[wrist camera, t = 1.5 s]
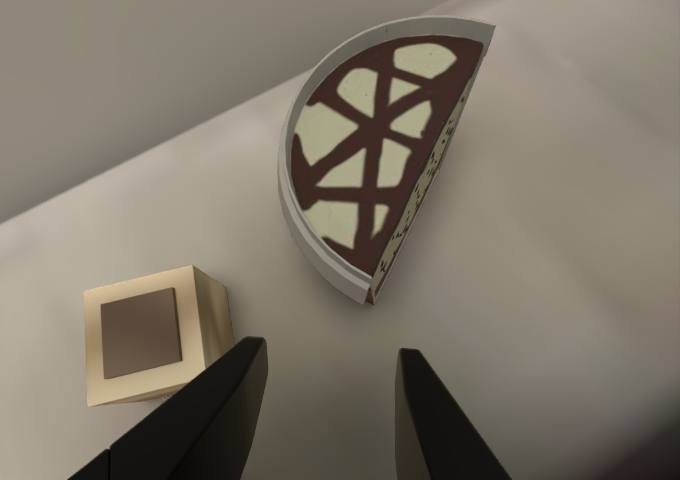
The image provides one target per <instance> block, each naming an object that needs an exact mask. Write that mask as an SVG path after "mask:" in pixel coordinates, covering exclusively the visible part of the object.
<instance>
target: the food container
mask: <svg viewBox="0 0 680 480" xmlns="http://www.w3.org/2000/svg"><path fill="white" fill-rule="evenodd" d="M495 27H496V24H493V23H489V22H485V21H482V20H478V19H473V18H466V17H458V16H440V15H428V16H419V17H409V18H404V19H400V20H396V21H391V22H387V23H384V24H381V25H378V26H376V27H373V28H371V29H368V30H365V31H363V32H361V33H360V34H358V35H356V36H354V37H352V38H350V39H348V40H346V41H345V42H343V43H342V44H341V45H339V46H338V47H337V48H335V49H334V50H332V51H331V52H330V53H329V54H327V55H326V56H325V57H324V58H323V59H322V60H321V61H320V62H319V63H318V64H317V65H316V66H315V67H314V68H313V70H312V71H311V72H310V74H309V75H308V76H307V78H306V79H305V80H304V82H303V83H302V85H301V87H300V88H299V90H298V92H297V94H296V96H295V98H294V100H293V102H292V104H291V106H290V108H289V110H288V112H287V115H286V119H285V122H284V125H283V128H282V131H281V137H280V144H279V151H278V192H279V197H280V202H281V206H282V211H283V215H284V218H285V220H286V222H287V225H288V227H289V230H290V232H291V235H292V237H293V238H294V240H295V242H296V243H297V245H298V246H299V248H300V250H301V251H302V253H303V254H304V256H305V258H306V259H307V260H308V261H309V262H310V263H311V264H312V265H313V267H314V268H315V269H316V270H317V271H318V272H319V273H320V275H321V276H322V277H324V278H325V279H326V280H327V281H328V282H330V283H331V284H332V285H333V286H335V287H336V288H337V289H338V290H339V291H341V292H342V293H343V294H345V295H347V296H348V297H350V298H352V299H354V300H355V301H357V302H359V303H360V304H362V305H364V303H365V301H367V302H369V303H371V304H372V305H375V303H376V301H377V299H378V297H379V295H380V292H381V290H382V288H383V286H384V284H385V282H386V280H387V278H388V276H389V274H390V272H391V270H392V268H393V265H394V263H395V261H396V259H397V257H398V255H399V253H400V251H401V249H402V247H403V245H404V243H405V240H406V238H407V236H408V234H409V232H410V230H411V228H412V226H413V224H414V222H415V220H416V218H417V216H418V213H419V211H420V209H421V207H422V205H423V203H424V201H425V199H426V197H427V195H428V193H429V191H430V189H431V186H432V184H433V182H434V180H435V178H436V176H437V174H438V172H439V170H440V167H441V165H442V162H443V160H444V157H445V155H446V152H447V150H448V147H449V144H450V142H451V139H452V137H453V134H454V132H455V129H456V127H457V124H458V121H459V119H460V116H461V114H462V111H463V109H464V106H465V104H466V101H467V99H468V96H469V93H470V91H471V88H472V86H473V83H474V81H475V78H476V76H477V73H478V70H479V68H480V65H481V63H482V60H483V58H484V57H485V55H486V53H487V50H488V47H489V44H490V42H491V39H492V36H493V32H494V29H495Z"/></svg>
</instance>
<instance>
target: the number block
mask: <svg viewBox="0 0 680 480" xmlns="http://www.w3.org/2000/svg"><path fill="white" fill-rule="evenodd" d="M84 311H85V342H86V372H87V403H88V407H92V406H101V405H111V404H120V403H130V402H140V401H148V400H152V399H156V398H160V397H164V396H168V395H172V394H175V393H176V392H177V391H179V390H180V389H181V388H182V387H184V386H185V385H186V384H187V383H189V382H190V381H191V380H192V379H194V378H195V377H196V376H197V375H199V374H200V373H201V372H202V371H204V370H205V369H206V368H207V367H208V366H210V365H211V364H212V363H213V362H215V361H216V360H217V359H218V358H220V357H221V356H222V355H223V354H225V353H226V352H227V351H228V350H230V349H231V348H232V347H233V346H235V344H234V337H233V331H232V324H231V317H230V310H229V304H228V297H227V290H226V287H225V286H223V285H222V284H220V283H219V282H217V281H216V280H214V279H213V278H211V277H210V276H208V275H207V274H205V273H204V272H202V271H201V270H199V269H198V268H196V267H195V266H193V265H190V266H186V267H182V268H177V269H173V270H169V271H165V272H161V273H157V274H152V275H148V276H144V277H140V278H136V279H132V280H127V281H123V282H119V283H115V284H111V285H107V286H102V287H98V288H94V289H90V290H86V291H84Z"/></svg>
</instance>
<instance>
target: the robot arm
mask: <svg viewBox="0 0 680 480" xmlns="http://www.w3.org/2000/svg"><path fill="white" fill-rule="evenodd" d="M267 375H268V358H267V345H266V340H265V339H264V338H263V337H253V336H247V337H245V338H243V339H242V340H241V341H240V342H238V343H237V344H236V345H235V346H233V347H232V348H231V349H230V350H228V351H227V352H226V353H225V354H223V355H222V356H221V357H220V358H218V359H217V360H216V361H215V362H213V363H212V364H211V365H210V366H208V367H207V368H206V369H205V370H204V371H202V372H201V373H200V374H199V375H197V376H196V377H195V378H194V379H192V380H191V381H190V382H189V383H187V384H186V385H185V386H184V387H182V388H181V389H180V390H179V391H177V392H176V393H175V394H174V395H172V396H171V397H170V398H169V399H168V400H166V401H165V402H164V403H163V404H161V405H160V406H159V407H158V408H156V409H155V410H154V411H153V412H151V413H150V414H149V415H148V416H146V417H145V418H144V419H143V420H141V421H140V422H139V423H138V424H136V425H135V426H134V427H133V428H131V429H130V430H129V431H128V432H127V433H125V434H124V435H123V436H122V437H120V438H119V439H118V440H117V441H115V442H114V443H113V444H112V445H111V446H110V450H109V449H105V450H104V451H103V452H101V453H100V454H99V455H98V456H96V457H95V458H94V459H93V460H91V461H90V462H89V463H88V464H87V465H85V466H84V467H83V468H81V469H80V470H79V471H77V472H76V473H75V474H74V475H72V476H71V477H70V478H68V479H67V480H240V478H241V475H242V473H243V470H244V467H245V464H246V461H247V458H248V455H249V452H250V449H251V446H252V441H253V437H254V433H255V429H256V425H257V420H258V416H259V411H260V407H261V402H262V398H263V394H264V389H265V385H266V380H267ZM395 459H396V470H397V479H398V480H512V479H511V477H510V476H509V474H508V473H507V472H506V470H505V469H504V468H503V466H502V465H501V463H500V462H499V461H498V459H497V458H496V456H495V455H494V454H493V452H492V451H491V449H490V448H489V447H488V445H487V444H486V442H485V441H484V440H483V438H482V437H481V435H480V434H479V433H478V431H477V430H476V428H475V427H474V426H473V424H472V423H471V421H470V420H469V419H468V417H467V416H466V415H465V413H464V412H463V410H462V409H461V408H460V406H459V405H458V403H457V402H456V401H455V399H454V398H453V396H452V395H451V394H450V392H449V391H448V389H447V388H446V387H445V385H444V384H443V382H442V381H441V380H440V378H439V377H438V375H437V374H436V373H435V371H434V370H433V368H432V367H431V366H430V364H429V363H428V362H427V360H426V359H425V357H424V356H423V355H422V353H421V352H420V351H419V350H417V349H408V348H401V349H400V350H399V352H398V360H397V369H396V379H395Z"/></svg>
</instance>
